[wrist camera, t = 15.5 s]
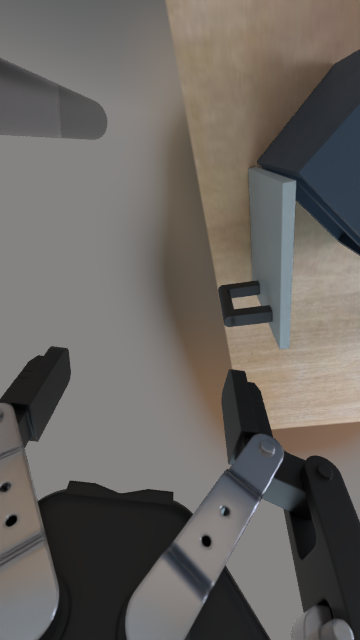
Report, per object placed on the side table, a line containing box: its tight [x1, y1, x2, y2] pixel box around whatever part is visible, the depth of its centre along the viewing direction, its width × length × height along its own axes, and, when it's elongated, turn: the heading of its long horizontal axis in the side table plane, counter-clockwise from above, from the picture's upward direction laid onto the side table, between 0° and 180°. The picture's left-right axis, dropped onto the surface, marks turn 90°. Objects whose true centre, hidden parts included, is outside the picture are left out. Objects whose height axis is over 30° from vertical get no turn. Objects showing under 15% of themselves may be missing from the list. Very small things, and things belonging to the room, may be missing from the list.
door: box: [218, 167, 296, 349], centre depth 31 cm, size 6×16×15 cm, turn 10°
